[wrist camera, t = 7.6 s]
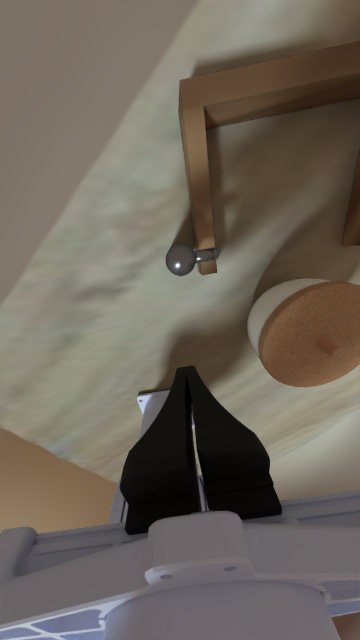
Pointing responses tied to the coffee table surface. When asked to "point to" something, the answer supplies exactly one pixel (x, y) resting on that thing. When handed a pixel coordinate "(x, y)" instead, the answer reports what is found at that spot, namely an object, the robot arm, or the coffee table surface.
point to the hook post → (188, 258)
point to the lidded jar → (307, 331)
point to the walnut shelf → (257, 102)
